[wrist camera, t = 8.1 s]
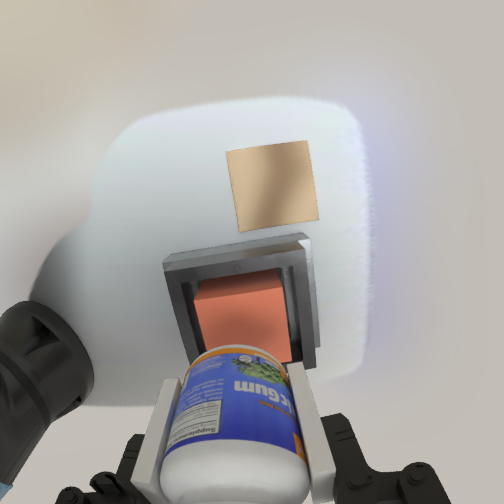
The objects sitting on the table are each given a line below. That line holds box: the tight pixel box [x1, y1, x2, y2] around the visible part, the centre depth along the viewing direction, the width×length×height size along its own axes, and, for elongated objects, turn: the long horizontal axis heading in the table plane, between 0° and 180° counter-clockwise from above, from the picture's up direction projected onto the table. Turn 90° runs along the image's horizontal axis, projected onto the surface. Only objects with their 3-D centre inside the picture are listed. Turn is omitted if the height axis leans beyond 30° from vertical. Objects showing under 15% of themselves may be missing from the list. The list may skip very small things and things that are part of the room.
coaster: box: [226, 141, 319, 232], centre depth 25 cm, size 7×7×1 cm
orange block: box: [194, 268, 292, 363], centre depth 22 cm, size 6×6×5 cm
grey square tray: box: [163, 233, 320, 373], centre depth 24 cm, size 12×10×6 cm
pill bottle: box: [160, 344, 310, 504], centre depth 10 cm, size 5×5×10 cm
